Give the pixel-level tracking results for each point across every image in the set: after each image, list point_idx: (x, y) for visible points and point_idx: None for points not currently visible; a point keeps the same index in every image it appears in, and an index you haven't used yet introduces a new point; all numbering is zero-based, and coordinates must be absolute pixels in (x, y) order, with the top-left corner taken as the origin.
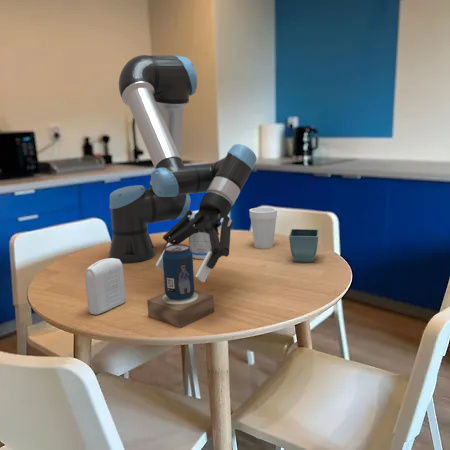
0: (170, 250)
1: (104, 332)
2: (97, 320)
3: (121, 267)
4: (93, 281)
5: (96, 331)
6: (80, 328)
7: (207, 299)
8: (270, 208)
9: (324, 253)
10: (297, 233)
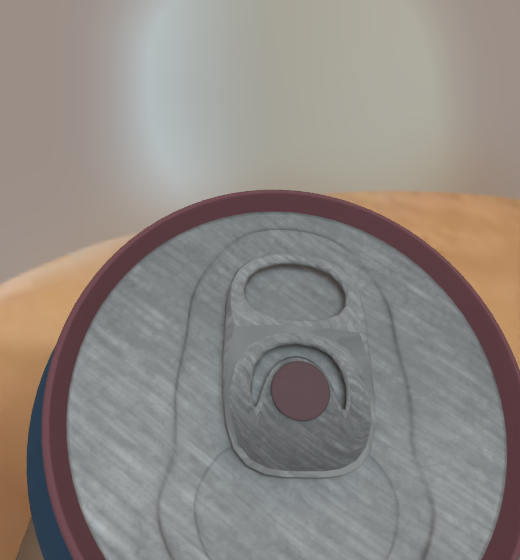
0: (358, 305)
1: (387, 200)
2: (497, 267)
3: None
4: None
5: (418, 197)
6: (485, 198)
7: (18, 555)
8: None
9: None
10: None
